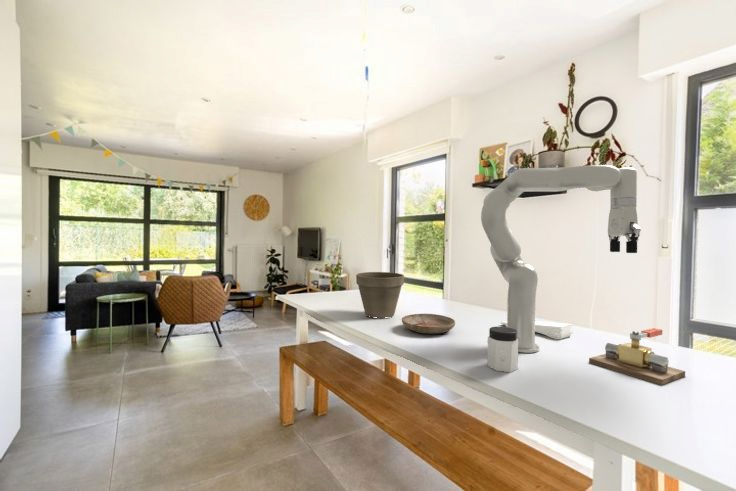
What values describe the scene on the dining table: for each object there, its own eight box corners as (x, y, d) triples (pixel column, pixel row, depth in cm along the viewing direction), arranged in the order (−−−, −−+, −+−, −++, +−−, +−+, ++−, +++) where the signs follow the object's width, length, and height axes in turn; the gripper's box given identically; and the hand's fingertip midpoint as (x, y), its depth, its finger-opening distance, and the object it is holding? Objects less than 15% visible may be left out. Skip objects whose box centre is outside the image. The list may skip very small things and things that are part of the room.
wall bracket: (502, 338, 166) (563, 345, 143) (498, 323, 166) (558, 328, 143) (514, 330, 172) (574, 335, 149) (511, 315, 171) (570, 319, 148)
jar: (487, 370, 110) (488, 331, 110) (487, 361, 118) (487, 325, 118) (519, 373, 107) (519, 334, 107) (516, 364, 115) (517, 327, 115)
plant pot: (401, 322, 171) (402, 277, 170) (351, 320, 175) (351, 276, 174) (405, 312, 195) (405, 272, 195) (361, 310, 199) (361, 271, 199)
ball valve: (661, 374, 104) (661, 347, 103) (603, 357, 118) (603, 334, 117) (669, 371, 106) (670, 345, 106) (612, 355, 120) (612, 332, 120)
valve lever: (638, 340, 110) (638, 333, 110) (628, 338, 112) (628, 331, 112) (663, 334, 117) (663, 327, 117) (652, 332, 119) (653, 325, 119)
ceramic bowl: (391, 332, 154) (391, 320, 154) (416, 321, 174) (416, 311, 174) (442, 341, 141) (442, 328, 141) (463, 328, 160) (463, 317, 160)
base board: (661, 385, 100) (661, 379, 100) (589, 362, 117) (589, 358, 117) (685, 376, 106) (685, 371, 106) (612, 356, 124) (613, 351, 124)
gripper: (598, 206, 135) (598, 251, 135) (626, 201, 118) (626, 253, 118) (620, 205, 134) (619, 251, 134) (651, 201, 117) (651, 253, 117)
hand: (622, 252), depth 126 cm, fingers open, 9 cm apart
